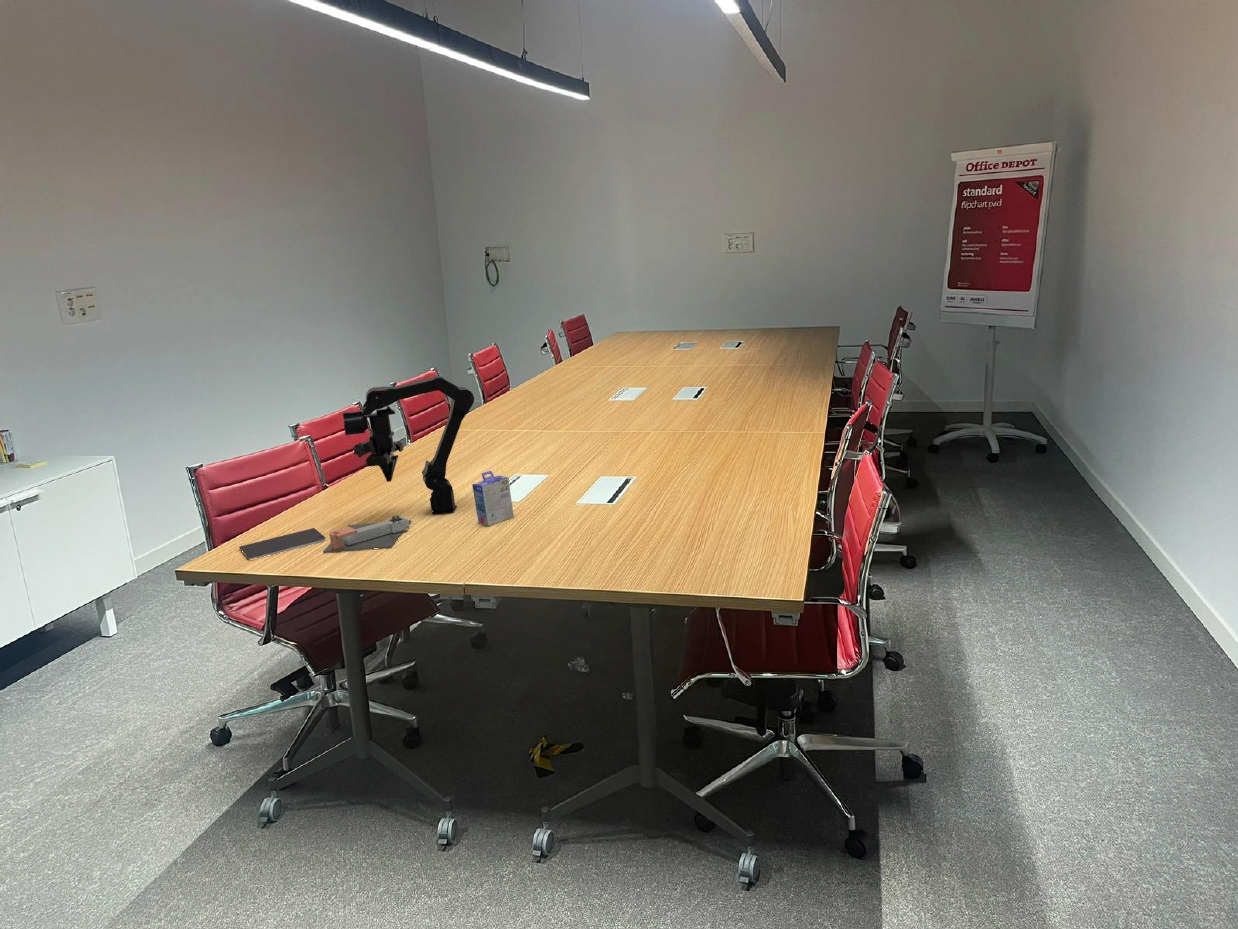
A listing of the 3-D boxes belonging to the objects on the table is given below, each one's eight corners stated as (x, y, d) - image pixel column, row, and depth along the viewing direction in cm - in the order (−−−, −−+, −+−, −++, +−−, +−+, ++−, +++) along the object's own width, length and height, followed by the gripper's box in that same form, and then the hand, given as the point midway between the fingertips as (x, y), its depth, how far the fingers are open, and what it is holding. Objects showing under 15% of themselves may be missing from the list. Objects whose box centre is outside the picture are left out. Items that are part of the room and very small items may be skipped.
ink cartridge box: (503, 514, 269) (497, 467, 265) (515, 517, 265) (509, 469, 261) (476, 523, 262) (470, 475, 258) (488, 526, 258) (481, 478, 254)
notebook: (314, 532, 269) (240, 551, 258) (314, 527, 268) (239, 546, 257) (327, 543, 258) (249, 563, 247) (326, 537, 258) (248, 557, 247)
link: (401, 524, 264) (400, 515, 263) (409, 528, 260) (408, 519, 259) (342, 542, 254) (340, 532, 253) (349, 546, 250) (347, 536, 249)
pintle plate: (411, 522, 269) (409, 507, 267) (391, 548, 247) (388, 532, 246) (349, 526, 270) (346, 512, 268) (323, 553, 248) (320, 537, 247)
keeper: (351, 542, 255) (348, 526, 254) (359, 546, 251) (357, 530, 250) (329, 548, 251) (326, 532, 250) (338, 553, 247) (335, 536, 246)
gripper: (364, 425, 275) (372, 474, 279) (344, 440, 257) (353, 492, 261) (400, 422, 274) (407, 472, 278) (382, 437, 256) (390, 489, 260)
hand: (389, 481), depth 270 cm, fingers closed
